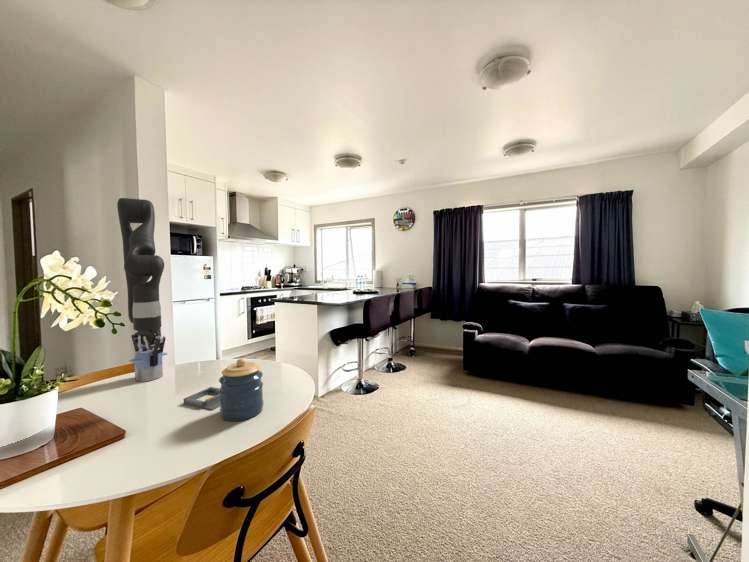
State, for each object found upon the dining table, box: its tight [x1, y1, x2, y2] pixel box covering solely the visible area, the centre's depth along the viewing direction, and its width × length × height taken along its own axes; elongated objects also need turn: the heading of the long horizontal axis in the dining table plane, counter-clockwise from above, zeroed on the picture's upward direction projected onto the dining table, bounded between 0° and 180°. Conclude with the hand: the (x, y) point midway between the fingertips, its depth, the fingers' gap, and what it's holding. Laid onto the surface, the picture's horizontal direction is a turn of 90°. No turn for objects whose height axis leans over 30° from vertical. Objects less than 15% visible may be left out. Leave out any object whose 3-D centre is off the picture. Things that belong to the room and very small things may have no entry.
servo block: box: [129, 348, 168, 370], centre depth 101 cm, size 4×10×6 cm, turn 159°
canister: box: [218, 358, 264, 422], centre depth 98 cm, size 13×13×18 cm
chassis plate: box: [183, 386, 221, 411], centre depth 107 cm, size 14×11×2 cm
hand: (149, 364), depth 102 cm, fingers closed on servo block, 4 cm apart
